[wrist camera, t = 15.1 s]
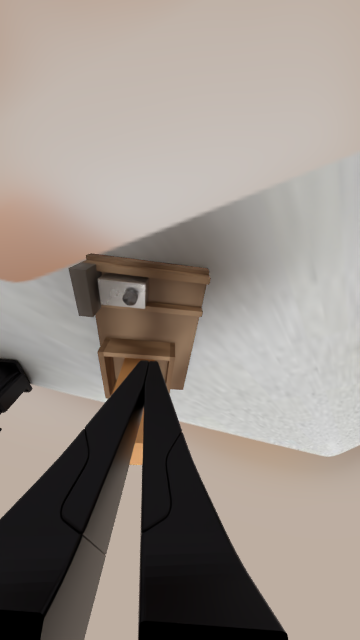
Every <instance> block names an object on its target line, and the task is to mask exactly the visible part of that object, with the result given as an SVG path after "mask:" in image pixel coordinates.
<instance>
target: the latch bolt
mask: <svg viewBox="0 0 360 640" xmlns="http://www.w3.org/2000/svg"><path fill="white" fill-rule="evenodd" d="M98 286H99V293H100V301H101V305H111V306H121V307H131V308H141V309H145V307H146V304H147V301H148V277H140V276H131V275H123V274H115V273H105V274H103V275H102V276H101V277H100V278H98Z"/></svg>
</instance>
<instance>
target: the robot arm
mask: <svg viewBox="0 0 360 640" xmlns="http://www.w3.org/2000/svg"><path fill="white" fill-rule="evenodd" d="M31 390H32V387H31V385H30V383H29V381H28V379H27V378H26V376H25V374H24V372H23V370H22V368H21V366H20V365H19V363H18V362H17V361H15V360H2V359H0V414H1V413H4V412H6V411H7V410H8V409H9V408H10V406H11V405H12V404H13V403H14V402H15V401H16V400H17V399H18V397H19V396H20V395H21V394H22V393H23V392H30V391H31ZM143 409H144V422H143V462H142V504H141V542H140V583H139V622H138V640H288V636H287V633H286V632H285V630H284V629H283V627H282V626H281V624H280V622H279V621H278V619H277V618H276V616H275V615H274V613H273V612H272V610H271V608H270V607H269V606H268V604H267V602H266V601H265V599H264V598H263V596H262V594H261V593H260V592H259V590H258V588H257V587H256V585H255V584H254V582H253V580H252V579H251V577H250V576H249V574H248V573H247V571H246V569H245V568H244V566H243V564H242V562H241V560H240V559H239V557H238V555H237V553H236V551H235V549H234V547H233V545H232V543H231V542H230V539H229V537H228V535H227V534H226V531H225V529H224V527H223V525H222V523H221V521H220V519H219V516H218V514H217V512H216V510H215V508H214V506H213V503H212V501H211V499H210V497H209V495H208V493H207V491H206V489H205V486H204V484H203V482H202V480H201V478H200V475H199V473H198V471H197V469H196V466H195V464H194V462H193V460H192V457H191V454H190V451H189V449H188V446H187V443H186V441H185V438H184V435H183V433H182V429H181V427H180V424H179V421H178V418H177V415H176V412H175V409H174V406H173V403H172V400H171V398H170V395H169V392H168V389H167V386H166V383H165V380H164V377H163V374H162V372H161V369H160V366H159V363H158V362H157V361H150V362H149V361H146V360H141V361H139V362H138V364H137V365H136V366H135V367H134V368H133V370H132V371H131V372H130V373H129V375H128V376H127V377H126V378H125V379H124V381H123V382H122V383H121V384H120V385H119V387H118V388H117V389H116V390H115V391H114V393H113V394H112V395H111V396H110V398H109V399H108V400H107V401H106V402H105V404H104V405H103V406H102V407H101V408H100V410H99V411H98V412H97V413H96V414H95V416H94V417H93V418H92V419H91V421H90V422H89V423H88V424H87V425H86V427H85V429H83V430H82V431H81V432H80V434H79V435H78V436H77V437H76V439H75V440H74V441H73V442H72V443H71V444H70V446H69V447H68V448H67V449H66V450H65V451H64V452H63V454H62V455H61V456H60V457H59V459H57V460H56V461H55V462H54V464H53V465H52V466H51V467H50V468H49V469H48V470H47V471H46V472H45V473H44V474H43V475H42V476H41V477H40V479H39V480H38V481H37V482H36V483H35V484H34V485H33V486H32V487H31V488H30V489H29V490H28V491H27V492H26V493H25V494H24V495H23V496H22V497H21V498H20V499H19V500H18V501H17V502H16V503H15V504H14V506H13V507H12V508H11V509H10V510H9V511H8V512H7V513H6V514H5V515H4V516H3V517H2V518H1V519H0V640H84V638H85V634H86V630H87V626H88V622H89V619H90V615H91V611H92V607H93V603H94V599H95V595H96V591H97V588H98V584H99V580H100V576H101V572H102V568H103V564H104V561H105V557H106V556H105V554H106V553H107V549H108V545H109V541H110V537H111V533H112V530H113V526H114V522H115V518H116V514H117V510H118V506H119V503H120V499H121V495H122V491H123V487H124V483H125V479H126V475H127V471H128V467H129V464H130V460H131V456H132V452H133V448H134V445H135V441H136V437H137V433H138V429H139V425H140V421H141V418H142V414H143ZM1 430H2V429H1V428H0V431H1Z"/></svg>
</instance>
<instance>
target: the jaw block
mask: <svg viewBox="0 0 360 640" xmlns="http://www.w3.org/2000/svg"><path fill="white" fill-rule="evenodd" d="M141 360H146V361H149V362H150V361H155V360H151V359H137V358H125V359H124V362H123V365H122V368H121V371H120V373H119V376H118V379H117V382H116V385H115V388H114V390H113V393H114V391H115V390H116V389H117V388H118V387H119V385H120V384H121V383H122V382H123V381H124V379H125V378H126V377H127V376H128V375H129V373H130V372H131V371H132V370H133V368H134V367H135V366H136V365H137V364H138V362H139V361H141ZM113 393H112V394H113ZM143 422H144V409H143V414H142V418H141V421H140V425H139V429H138V433H137V437H136V441H135V445H134V448H133V452H132V456H131V460H130V464H129V465H142V462H143Z"/></svg>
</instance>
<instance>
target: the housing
mask: <svg viewBox="0 0 360 640" xmlns="http://www.w3.org/2000/svg"><path fill="white" fill-rule="evenodd" d="M86 259H87V260H86V261H83V262H81V263H79V264H77V265H75V266H73V267H70V268H69V272H70V277H71V281H72V286H73V290H74V295H75V299H76V304H77V308H78V313H79V316H87V317H94V315H96V322H97V328H98V334H99V340H100V346H101V347H100V348H99V350H98V357H99V363H100V368H101V374H102V380H103V385H104V391H105V397H106V398H110V396H111V395H112V393H113V390H114V388H115V385H116V382H117V379H118V376H119V373H120V371H121V368H122V365H123V362H124V359H125V358H137V359H151V360H155V361H157V362H158V363H159V366H160V369H161V372H162V374H163V377H164V380H165V383H166V386H167V389H168V392H169V393H170V389H178V390H183V387H184V383H185V378H186V374H187V369H188V365H189V360H190V356H191V351H192V347H193V342H194V338H195V334H196V329H197V325H198V320H199V317H202V313H203V311H202V308H201V307H202V302H203V298H204V294H205V289H206V285H207V284H209V283H210V279H211V278H210V277H209V270H208V269H207V268H200V267H192V266H184V265H176V264H169V263H161V262H153V261H145V260H137V259H130V258H122V257H114V256H106V255H99V254H88V255H86ZM105 273H115V274H123V275H131V276H140V277H148V301H147V304H146V307H145V309H141V308H131V307H121V306H111V305H101V301H100V293H99V286H98V278H100V277H101V276H102V275H103V274H105Z"/></svg>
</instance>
